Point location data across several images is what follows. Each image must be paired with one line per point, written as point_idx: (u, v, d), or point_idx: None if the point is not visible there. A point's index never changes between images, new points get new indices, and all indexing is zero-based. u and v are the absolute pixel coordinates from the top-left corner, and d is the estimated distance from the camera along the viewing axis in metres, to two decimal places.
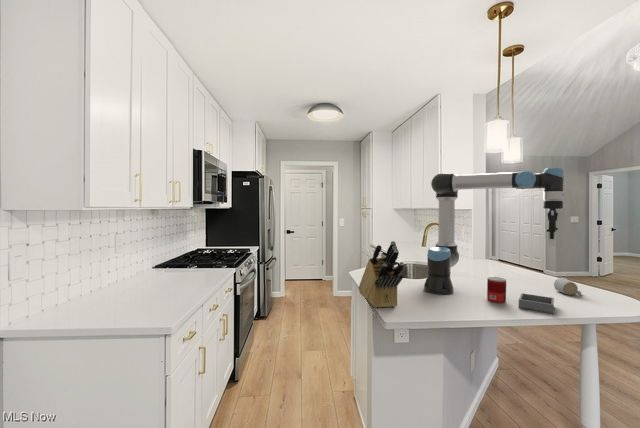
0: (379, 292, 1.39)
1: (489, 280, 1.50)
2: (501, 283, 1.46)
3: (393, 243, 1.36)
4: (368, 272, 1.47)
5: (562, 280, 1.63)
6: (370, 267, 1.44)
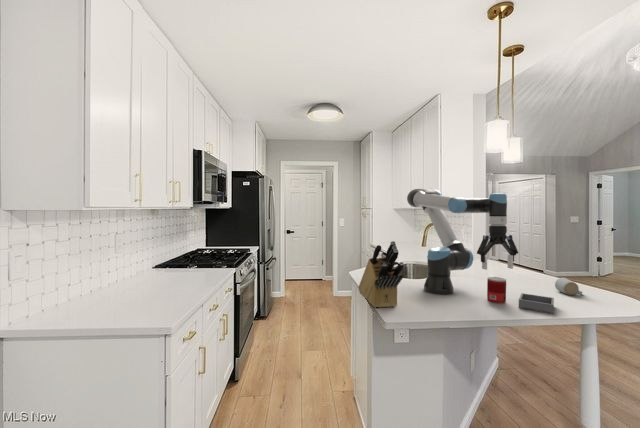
0: (379, 292, 1.39)
1: (489, 280, 1.50)
2: (501, 283, 1.46)
3: (393, 243, 1.37)
4: (368, 272, 1.47)
5: (563, 280, 1.63)
6: (370, 267, 1.44)
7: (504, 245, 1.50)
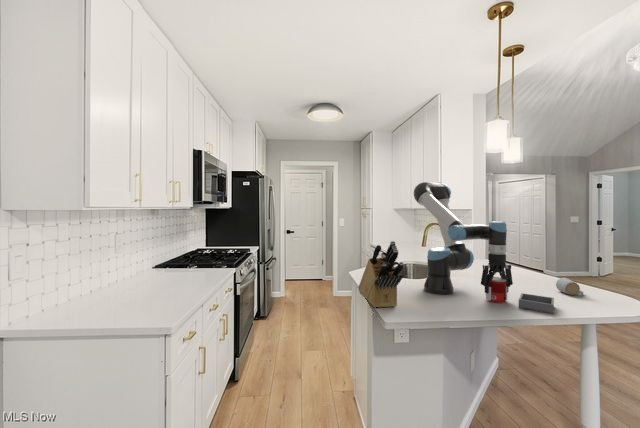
0: (378, 291, 1.40)
1: None
2: (501, 283, 1.46)
3: (393, 243, 1.37)
4: (368, 272, 1.47)
5: (564, 280, 1.63)
6: (370, 267, 1.44)
7: (501, 274, 1.50)
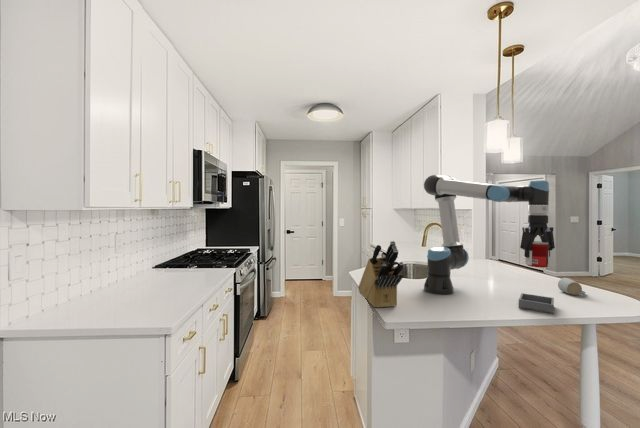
0: (378, 291, 1.40)
1: None
2: (544, 246, 1.36)
3: (393, 243, 1.37)
4: (368, 272, 1.47)
5: (566, 280, 1.63)
6: (370, 267, 1.44)
7: (542, 237, 1.40)
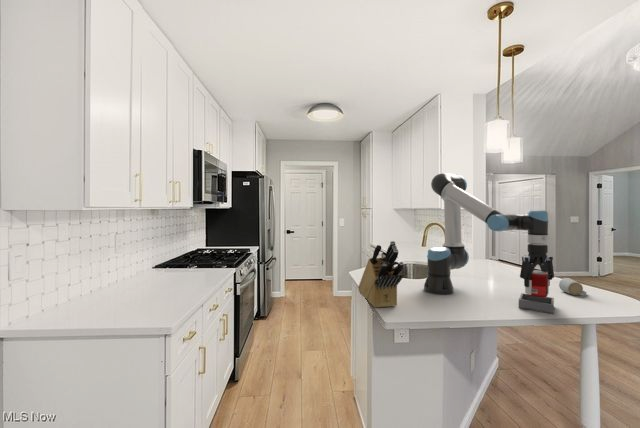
0: (378, 291, 1.40)
1: None
2: (543, 276, 1.37)
3: (393, 243, 1.37)
4: (368, 272, 1.47)
5: (567, 280, 1.63)
6: (370, 267, 1.44)
7: (542, 266, 1.41)
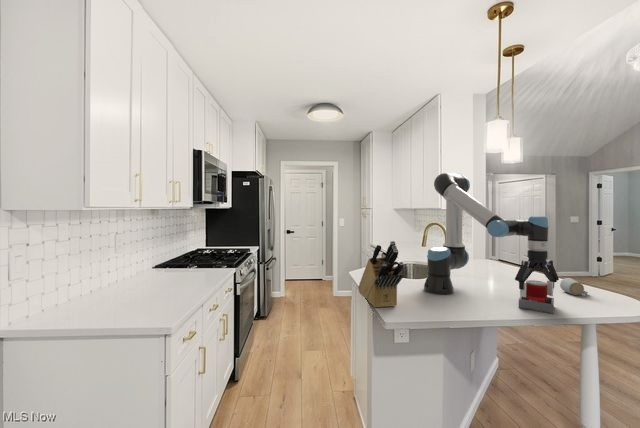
0: (378, 291, 1.40)
1: (528, 284, 1.40)
2: (542, 287, 1.37)
3: (393, 243, 1.37)
4: (368, 272, 1.47)
5: (568, 280, 1.63)
6: (370, 267, 1.44)
7: (544, 271, 1.41)
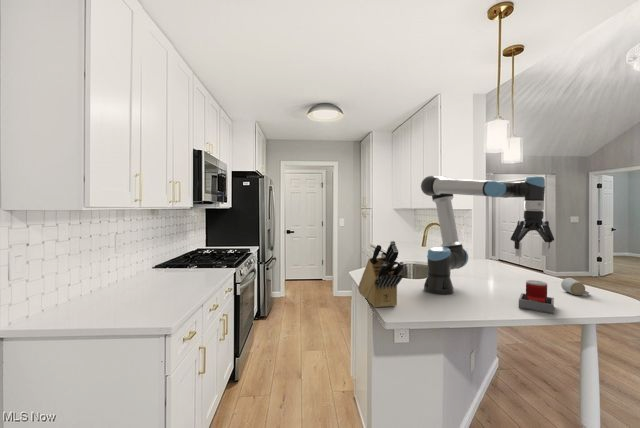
0: (379, 291, 1.40)
1: (528, 284, 1.40)
2: (542, 287, 1.37)
3: (393, 243, 1.37)
4: (368, 272, 1.47)
5: (569, 280, 1.63)
6: (370, 267, 1.45)
7: (539, 231, 1.42)
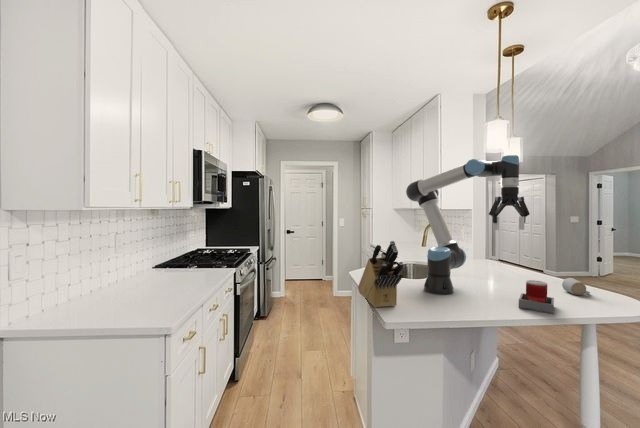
0: (378, 291, 1.40)
1: (529, 284, 1.40)
2: (543, 287, 1.37)
3: (392, 243, 1.37)
4: (368, 272, 1.47)
5: (570, 280, 1.63)
6: (370, 267, 1.45)
7: (516, 207, 1.52)
